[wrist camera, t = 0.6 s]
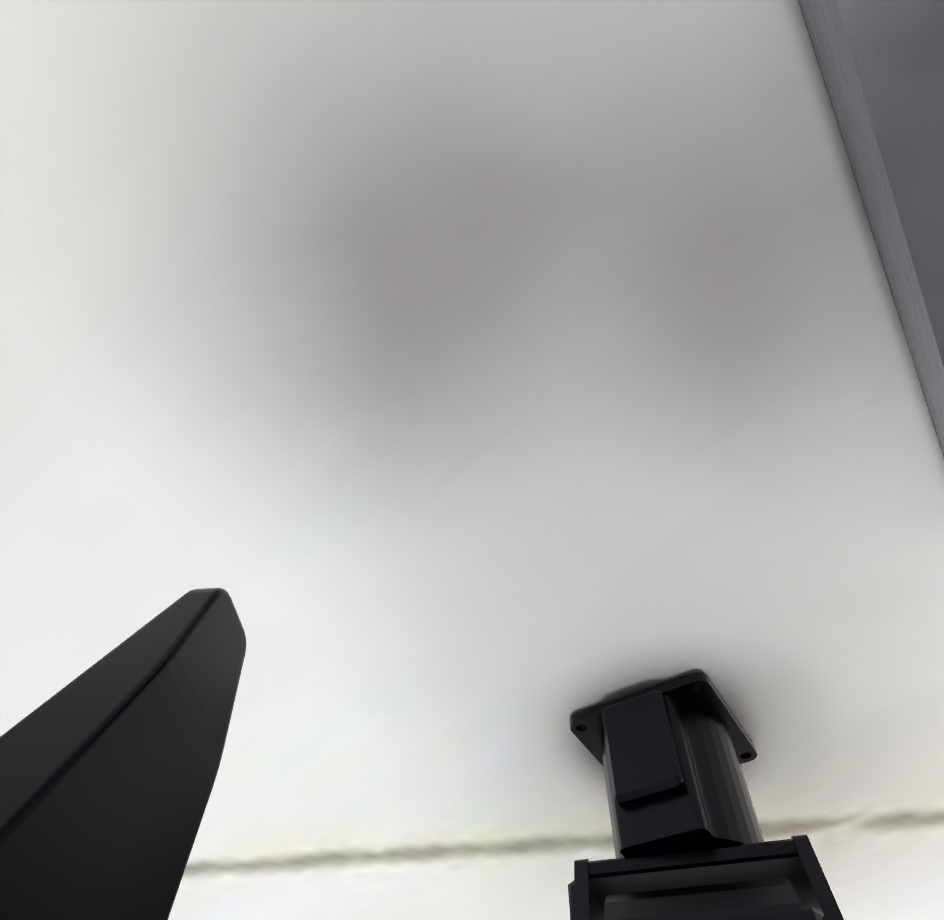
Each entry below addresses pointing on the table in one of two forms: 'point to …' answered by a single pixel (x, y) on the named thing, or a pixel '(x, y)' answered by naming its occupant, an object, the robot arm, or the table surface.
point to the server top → (895, 152)
